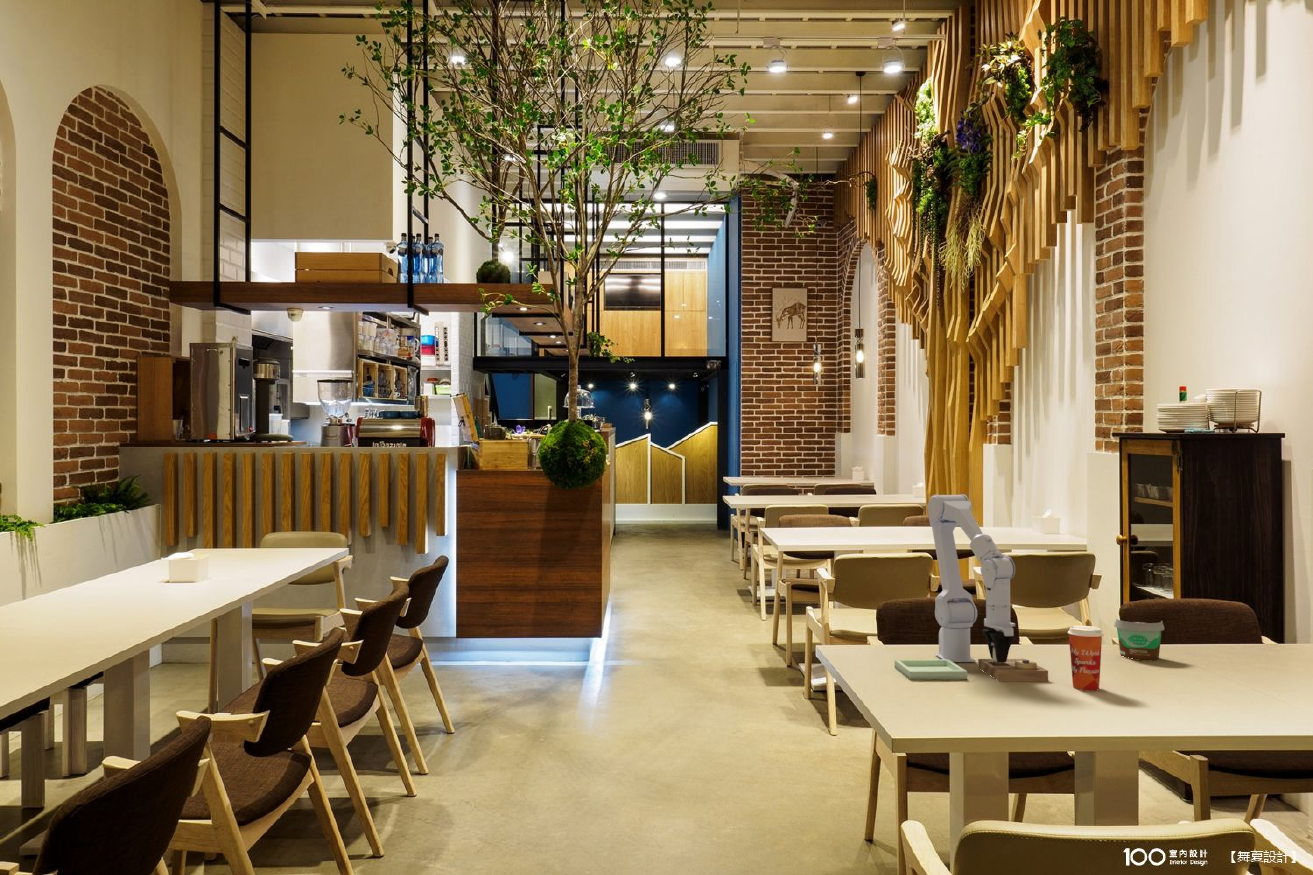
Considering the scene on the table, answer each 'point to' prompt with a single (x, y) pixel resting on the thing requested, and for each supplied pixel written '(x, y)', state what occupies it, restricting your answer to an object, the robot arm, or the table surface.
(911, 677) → the tray
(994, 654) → the pin
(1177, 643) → the table surface
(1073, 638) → the paper cup
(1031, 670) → the tensioner block
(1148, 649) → the food container
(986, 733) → the table surface
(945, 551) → the robot arm
